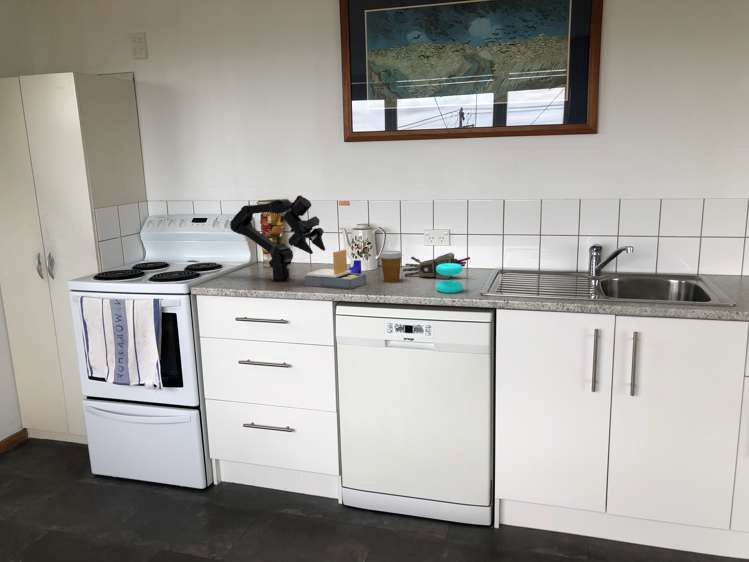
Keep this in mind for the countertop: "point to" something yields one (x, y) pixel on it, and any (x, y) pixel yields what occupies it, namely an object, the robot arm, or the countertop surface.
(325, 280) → the frame
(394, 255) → the disposable coffee cup
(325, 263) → the countertop surface
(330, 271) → the lid
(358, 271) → the cable clip
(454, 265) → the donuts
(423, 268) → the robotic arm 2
